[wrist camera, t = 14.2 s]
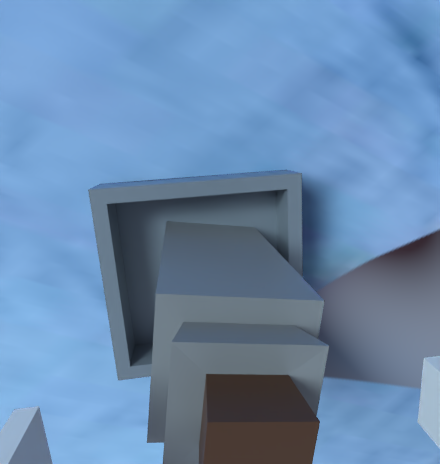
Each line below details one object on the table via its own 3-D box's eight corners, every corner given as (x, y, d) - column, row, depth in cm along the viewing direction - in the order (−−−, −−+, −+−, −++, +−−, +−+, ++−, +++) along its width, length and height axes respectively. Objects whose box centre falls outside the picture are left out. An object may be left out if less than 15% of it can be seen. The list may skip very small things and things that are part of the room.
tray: (286, 169, 27) (301, 173, 24) (289, 333, 31) (303, 356, 27) (100, 184, 26) (88, 189, 22) (124, 353, 29) (118, 380, 26)
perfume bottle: (244, 307, 29) (346, 552, 11) (161, 304, 28) (134, 564, 11) (254, 227, 27) (388, 368, 10) (166, 221, 26) (145, 364, 9)
